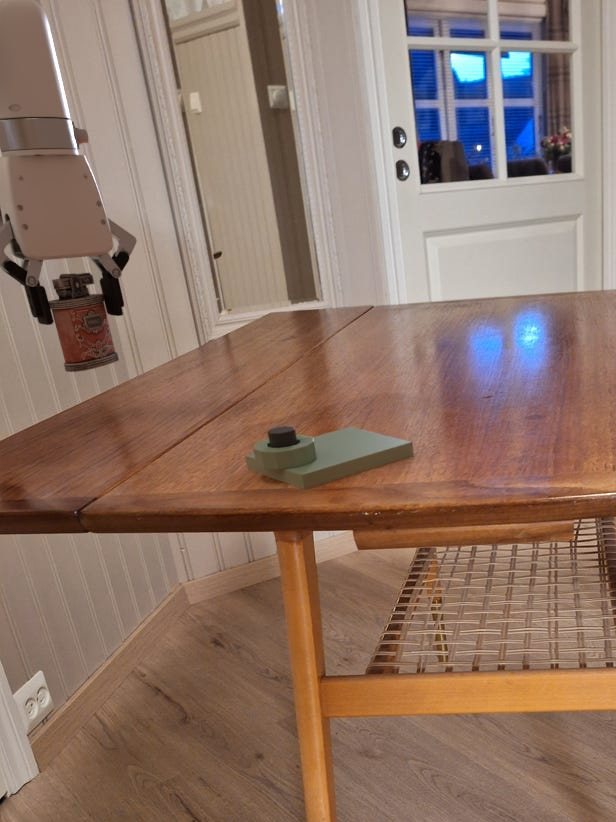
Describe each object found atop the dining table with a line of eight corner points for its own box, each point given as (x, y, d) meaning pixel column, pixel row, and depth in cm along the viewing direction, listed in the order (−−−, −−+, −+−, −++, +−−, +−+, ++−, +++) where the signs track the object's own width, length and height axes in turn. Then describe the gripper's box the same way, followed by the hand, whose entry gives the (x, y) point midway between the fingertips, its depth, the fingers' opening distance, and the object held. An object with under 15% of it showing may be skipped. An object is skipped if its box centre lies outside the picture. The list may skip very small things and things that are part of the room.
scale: (293, 494, 74) (287, 459, 72) (236, 473, 80) (229, 441, 79) (414, 456, 81) (410, 424, 80) (352, 440, 88) (348, 410, 86)
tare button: (279, 452, 76) (276, 434, 75) (265, 447, 77) (262, 430, 77) (302, 445, 77) (300, 428, 76) (288, 441, 79) (285, 424, 78)
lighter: (84, 371, 98) (60, 276, 93) (58, 372, 99) (33, 277, 94) (125, 359, 105) (105, 269, 100) (101, 359, 106) (80, 270, 101)
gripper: (105, 143, 99) (141, 308, 107) (-63, 145, 89) (-9, 327, 97) (132, 138, 94) (167, 312, 102) (-43, 139, 84) (12, 332, 92)
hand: (81, 318), depth 99 cm, fingers closed on lighter, 7 cm apart
